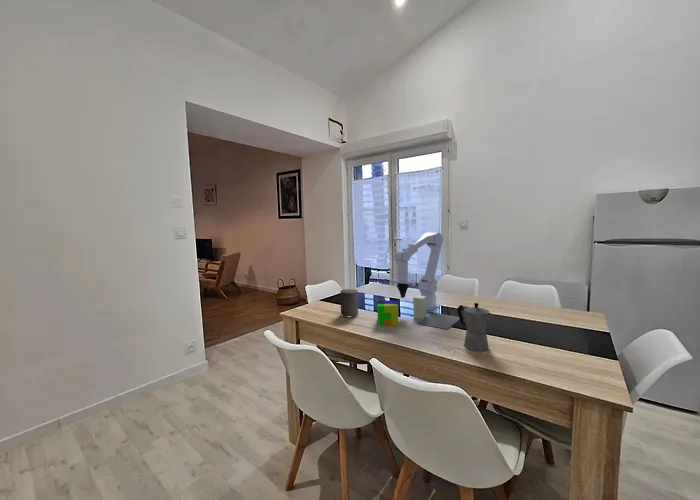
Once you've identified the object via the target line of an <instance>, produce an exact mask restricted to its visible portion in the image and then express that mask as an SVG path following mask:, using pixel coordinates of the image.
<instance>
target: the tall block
mask: <svg viewBox="0 0 700 500" xmlns="http://www.w3.org/2000/svg"><path fill="white" fill-rule="evenodd" d="M412 303H413V304H412V305H413V319H417V320H418V319H419V320H423V319H425V318H427V317H428V315H427V310H426V296H421V295H418V294H417V295H415V296H413V298H412Z"/></svg>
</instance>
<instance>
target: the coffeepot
mask: <svg viewBox="0 0 700 500" xmlns="http://www.w3.org/2000/svg"><path fill="white" fill-rule="evenodd" d="M473 305H474V306H472V307H470V306H467V305H462V304H460V305H459V306H458V307H457V308H456V311H457V315H458V317H459V319H460V320H459V322H460V324H461V325H462V326H465V327H466V332H465V336H464V343H463V347H464V348H465V349H467V350H469V351H471V352H472V351H473V352H480V353H482V352H486V351H488V350H489V343H488V342H489V341H488V335H487V332H486V329H487V325H488V321H489V320H490V318H491V317H493V314H492V313H491V312H490V310H488V309H487V308H484V307H479V303H477V302H475V303H474V304H473ZM462 311H463V313H464V314H463V313H462ZM463 315H464V317H463ZM464 321H465V322H464Z"/></svg>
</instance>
